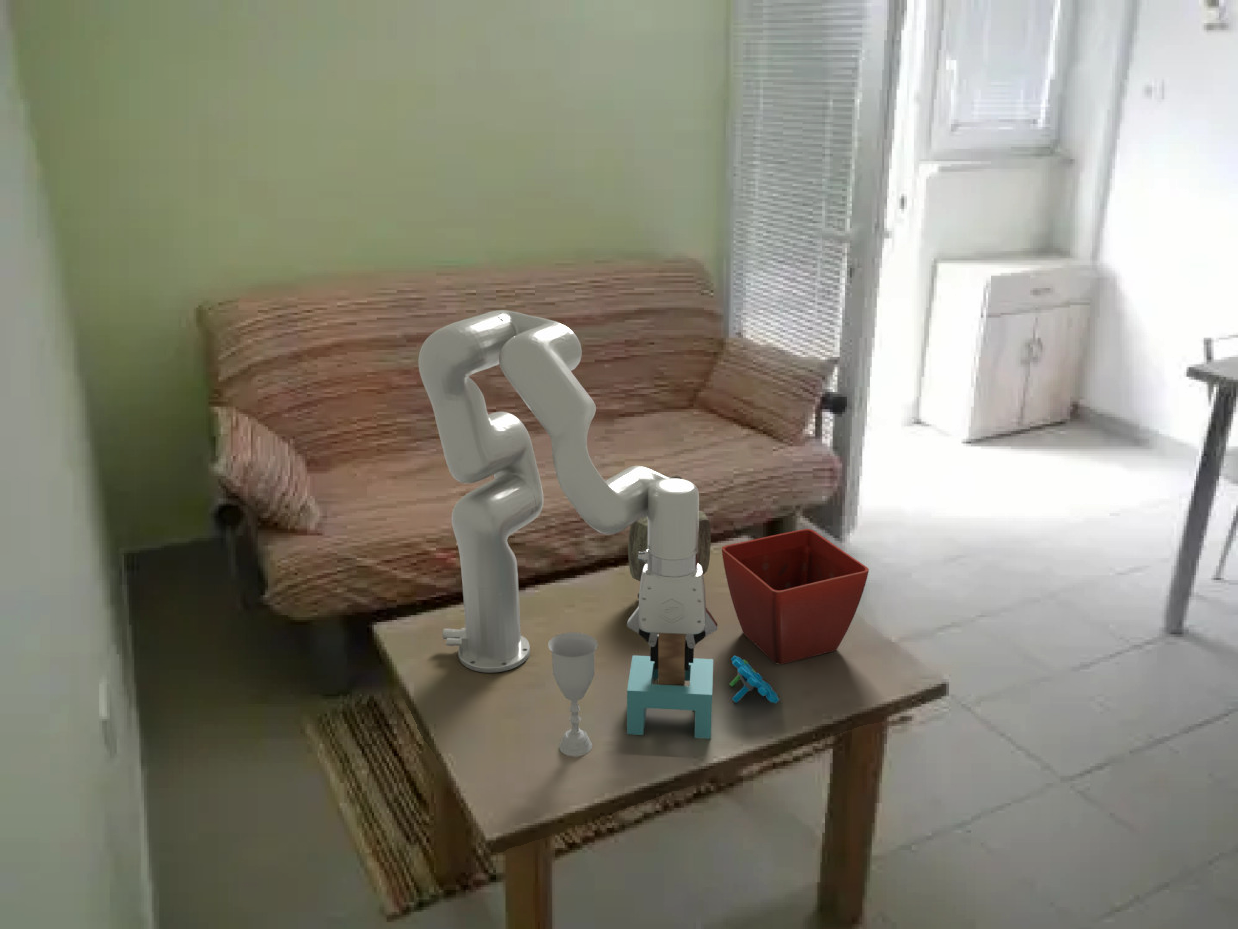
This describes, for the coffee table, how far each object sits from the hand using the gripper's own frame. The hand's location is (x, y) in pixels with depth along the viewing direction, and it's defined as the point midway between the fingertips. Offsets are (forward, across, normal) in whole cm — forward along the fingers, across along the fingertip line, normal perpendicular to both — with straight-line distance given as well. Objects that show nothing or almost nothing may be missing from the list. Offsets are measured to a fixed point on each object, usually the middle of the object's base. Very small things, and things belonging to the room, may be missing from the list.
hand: (671, 664), depth 161 cm
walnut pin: (+4, 0, 0) cm, 4 cm away
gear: (+10, +13, +7) cm, 18 cm away
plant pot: (+10, +20, +25) cm, 34 cm away
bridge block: (+10, 0, 0) cm, 10 cm away
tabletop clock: (+10, -2, +40) cm, 41 cm away
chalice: (+10, -14, -9) cm, 19 cm away
